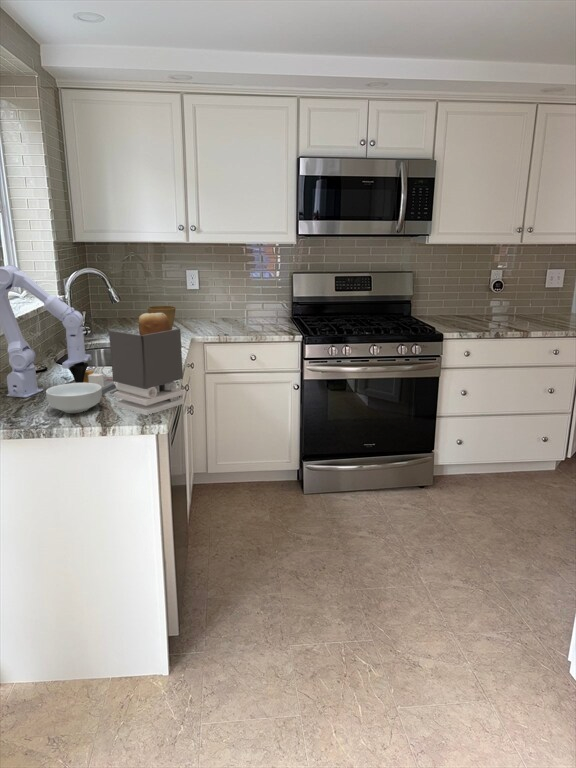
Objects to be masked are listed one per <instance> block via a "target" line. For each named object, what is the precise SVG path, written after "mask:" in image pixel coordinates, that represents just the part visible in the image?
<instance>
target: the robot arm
mask: <svg viewBox="0 0 576 768" xmlns="http://www.w3.org/2000/svg"><path fill="white" fill-rule="evenodd" d="M12 288H19V289H20V288H22V289H24V290H25V291H26V292H28V293H29V294H31V295H33V296H34V297H35V298H36V299H38V300H39V301H41V302H42V303H43V305H44V309H45V310H46V311H47V312H49V313H50V314H51V315H53V317H55V318H56V319H58V320H59V321H60V322H61V324H62V326H63V327H64V328H65V339H66V348H67V359H65V361H64V362H62V369H67V370H69V371H70V373H71V375H72V377H73V380H75V382H76V383H83V382H84V376H85V371H86V370H88V369H87V368H88V367H89V363H88V361H92V354H88V353H86V349H85V347H86V346H85V337H84V329H83V323H84V316H83V315H82V313H81V312H80V311H78V310H75V308H74V307H71V306H69V305H68V304H67V303H66V302H64V301H63V300H64V298H62V297H61V296H59V297H58V296H57V295H50V294H49V293H48V292H47V291H46V290H44V289H43V288H42V287H41V286H40V285H39V284H38V283H36V281H34V280H33V279H32V278H31V277H30V276H29V275H28V274H26V273H25V272H24V271H22V270H20V269H19V268H18V267H17V266H16V265H13V264H8V265H4V266H0V327H1V329H2V332H3V334H4V338H5V340H6V342H7V353H8V363H9V366H10V367H11V368H12V369H11V372H10V373H8V375H7V376H6V383H7V391H8V392H7V393H8V394H6V396H7V397H14V398H17V397H18V398H29V397H31V396H33V395H36V394H38V393H40V392H42V391H44V389H43V388H38V382H37V374H36V366H35V364H34V362H35V361H36V352H35V351H34V349H32V348H31V347H30V345H29V343H28V342H27V340H26V339H25V338H24V335H23V333H22V331H21V328H20V326H19V325H20V324H19V323H18V320H17V318H16V316H15V313H14V310H13V308H12V306H11V302H10V300H9V298H8V294H9V292H10V291H11V289H12Z"/></svg>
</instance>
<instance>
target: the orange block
mask: <svg viewBox="0 0 576 768" xmlns="http://www.w3.org/2000/svg"><path fill="white" fill-rule="evenodd" d="M90 374H94V370H92V369H86V371H85V376H84V382H83V383H89V380H88V375H90Z"/></svg>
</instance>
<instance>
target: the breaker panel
mask: <svg viewBox="0 0 576 768" xmlns="http://www.w3.org/2000/svg"><path fill="white" fill-rule="evenodd" d="M88 380H89V383H94V384H98V385H100V386H101V387H102V395H104V394H106V393H109V392H110V391H111V390H113V389H115V388H116V386H115V385H114V381H113V376H106V375H105V376H104V374H103V373H93V374H90V375H88ZM73 383H76V382H73Z"/></svg>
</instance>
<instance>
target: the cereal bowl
mask: <svg viewBox="0 0 576 768" xmlns="http://www.w3.org/2000/svg"><path fill="white" fill-rule="evenodd" d="M102 395H103V394H102V387H101V386H100V385H98V384H94V383H69V384H66V383H63V384H58V385H55V386H51V387H49V388H47V389H46V391H45V396H46V397H45V398H46V401H47V403H48V404H49V405H50V407H52V408H53V409H55V410H58V411H62V412H63V413H66V414H78V413H83V411H84V412H86V411H88V410H89V409H91V408H92V407H94V406H96V405H98V403H100V402H101V400H102V399H101V398H102Z"/></svg>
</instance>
